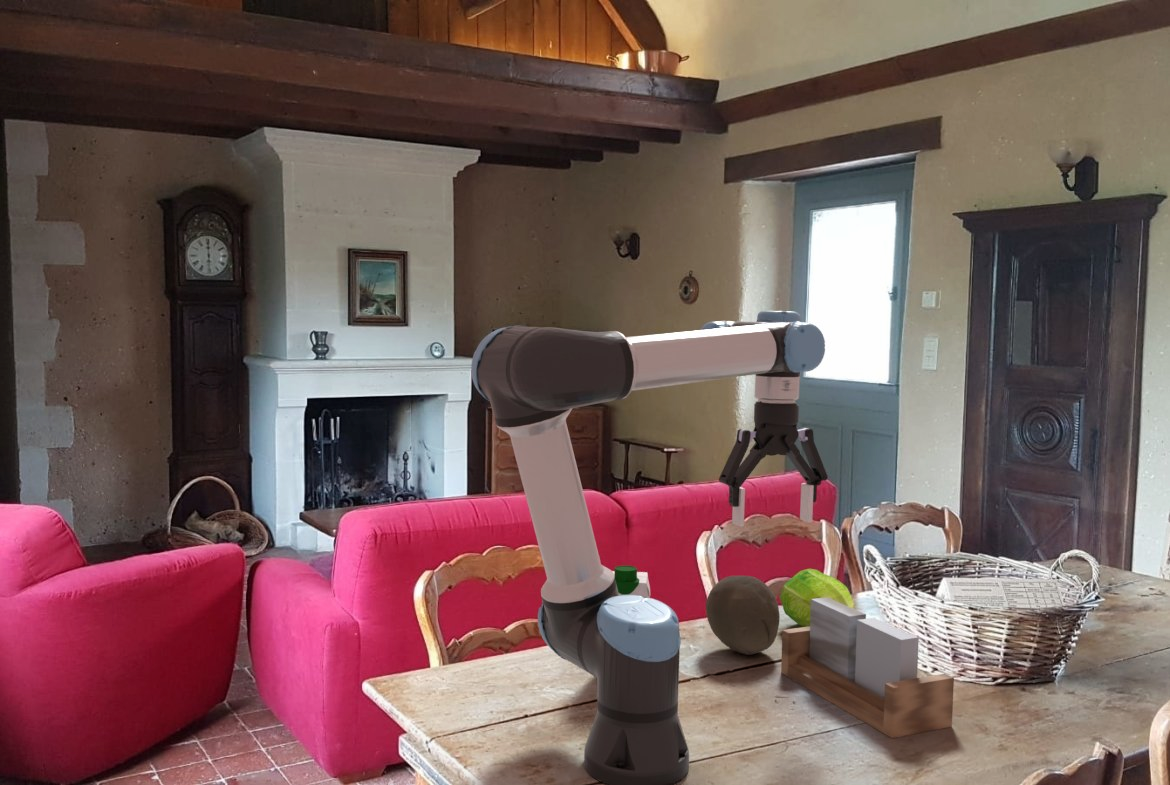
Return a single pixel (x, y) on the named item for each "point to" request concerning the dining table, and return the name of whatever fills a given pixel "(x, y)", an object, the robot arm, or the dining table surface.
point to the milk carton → (631, 581)
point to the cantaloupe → (743, 614)
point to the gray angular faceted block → (884, 655)
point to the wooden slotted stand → (829, 671)
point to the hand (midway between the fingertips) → (772, 523)
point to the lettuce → (811, 594)
